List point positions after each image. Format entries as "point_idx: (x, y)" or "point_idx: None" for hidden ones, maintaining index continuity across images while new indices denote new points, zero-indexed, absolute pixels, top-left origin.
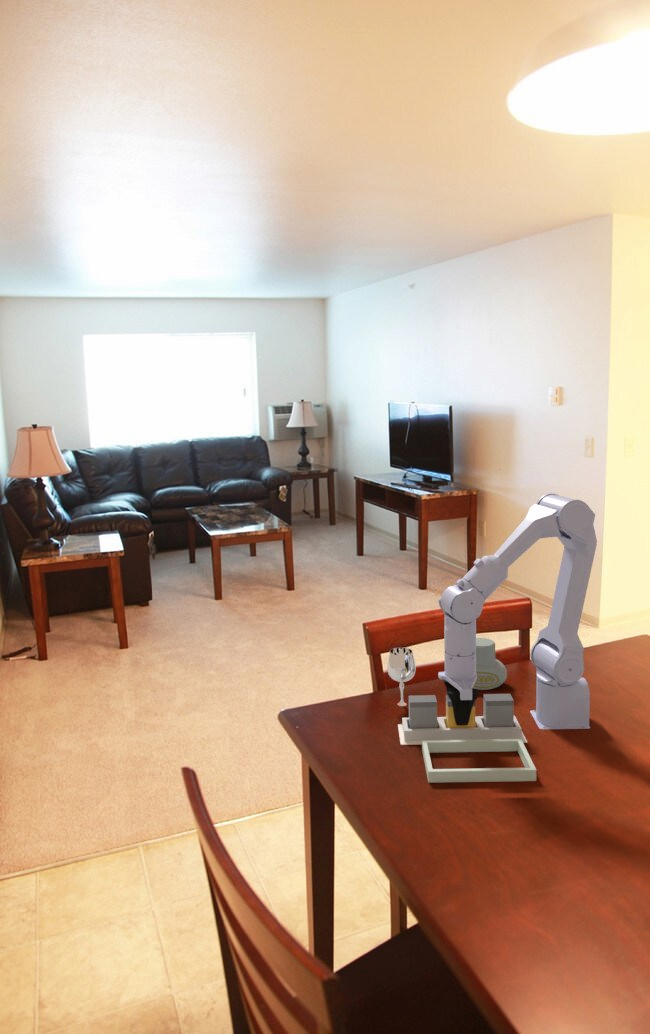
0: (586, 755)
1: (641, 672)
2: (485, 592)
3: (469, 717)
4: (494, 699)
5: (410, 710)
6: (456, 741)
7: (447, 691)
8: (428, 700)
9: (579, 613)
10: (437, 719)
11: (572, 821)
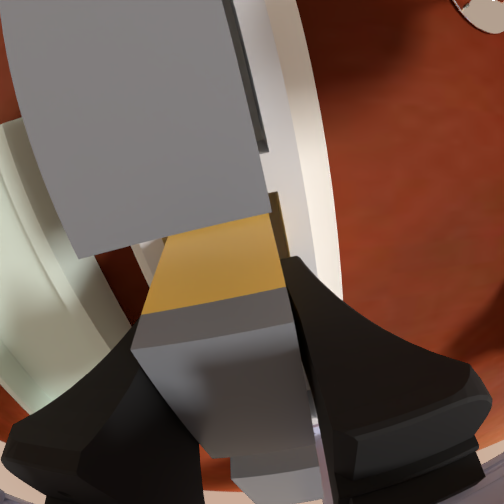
0: (210, 464)
1: (482, 448)
2: None
3: None
4: (256, 489)
5: None
6: (52, 279)
7: (14, 461)
8: (81, 152)
9: None
10: (259, 154)
11: (4, 415)
